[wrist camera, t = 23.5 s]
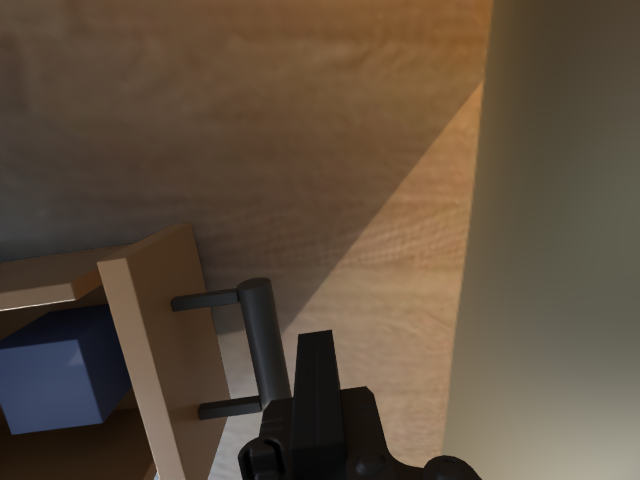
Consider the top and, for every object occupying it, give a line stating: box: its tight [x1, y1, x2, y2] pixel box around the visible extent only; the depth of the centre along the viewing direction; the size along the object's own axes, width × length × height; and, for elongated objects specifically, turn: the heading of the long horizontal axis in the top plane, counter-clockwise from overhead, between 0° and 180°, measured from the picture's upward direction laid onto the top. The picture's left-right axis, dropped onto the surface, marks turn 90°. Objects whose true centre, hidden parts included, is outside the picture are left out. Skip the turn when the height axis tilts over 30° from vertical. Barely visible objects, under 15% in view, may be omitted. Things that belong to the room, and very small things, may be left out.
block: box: [0, 304, 132, 435], centre depth 20 cm, size 5×5×5 cm
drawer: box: [0, 222, 292, 480], centre depth 19 cm, size 20×12×8 cm, turn 98°
